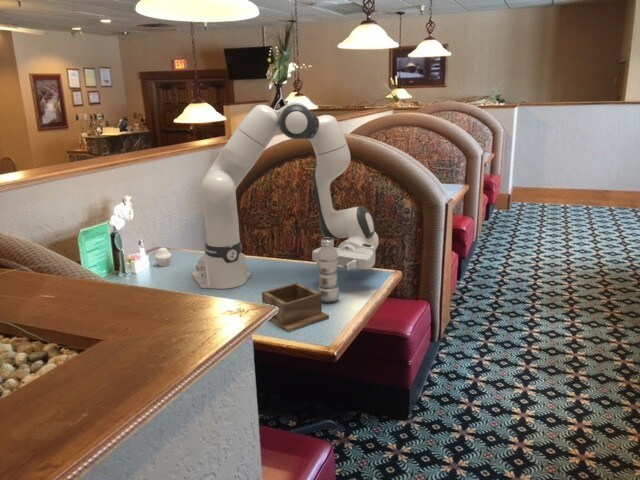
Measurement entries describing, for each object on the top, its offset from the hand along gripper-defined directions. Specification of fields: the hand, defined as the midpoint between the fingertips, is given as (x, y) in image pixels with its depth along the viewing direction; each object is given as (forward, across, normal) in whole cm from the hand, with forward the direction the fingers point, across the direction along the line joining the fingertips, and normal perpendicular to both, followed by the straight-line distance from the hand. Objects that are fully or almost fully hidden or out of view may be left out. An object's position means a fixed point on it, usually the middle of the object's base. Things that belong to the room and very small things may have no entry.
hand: (332, 264), depth 168 cm
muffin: (-2, -73, +11) cm, 74 cm away
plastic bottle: (+3, 0, +11) cm, 11 cm away
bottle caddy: (+17, -4, +11) cm, 21 cm away
